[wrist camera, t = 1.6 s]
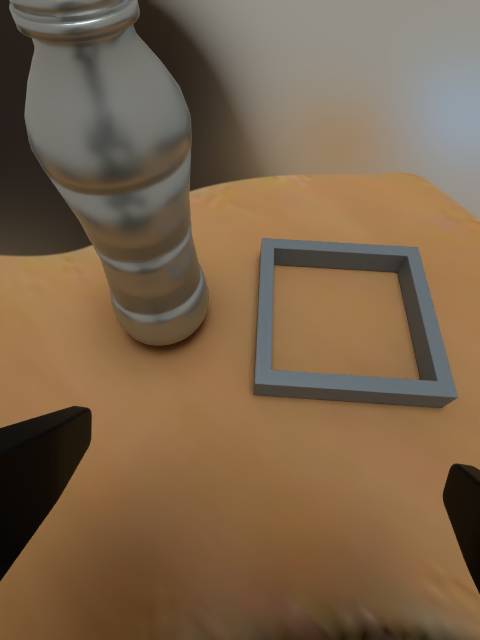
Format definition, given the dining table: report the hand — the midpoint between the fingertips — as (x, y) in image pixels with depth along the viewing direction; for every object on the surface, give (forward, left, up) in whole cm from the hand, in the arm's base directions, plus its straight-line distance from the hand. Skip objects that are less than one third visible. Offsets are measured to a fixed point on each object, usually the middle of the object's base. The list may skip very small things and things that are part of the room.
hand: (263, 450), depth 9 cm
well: (+12, +7, -14) cm, 20 cm away
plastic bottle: (+1, +14, -14) cm, 20 cm away
